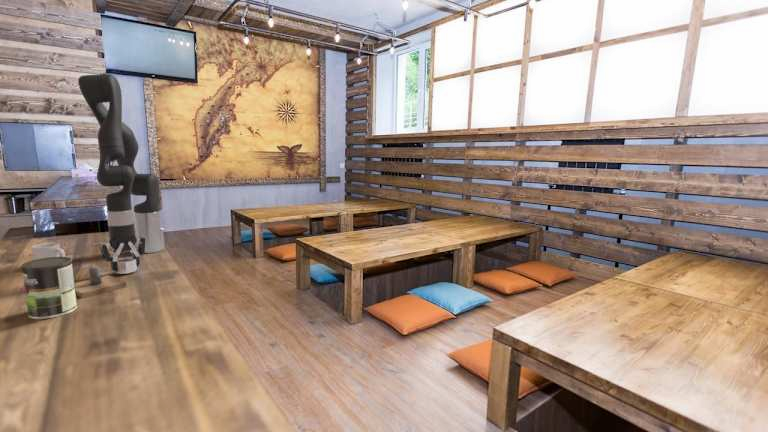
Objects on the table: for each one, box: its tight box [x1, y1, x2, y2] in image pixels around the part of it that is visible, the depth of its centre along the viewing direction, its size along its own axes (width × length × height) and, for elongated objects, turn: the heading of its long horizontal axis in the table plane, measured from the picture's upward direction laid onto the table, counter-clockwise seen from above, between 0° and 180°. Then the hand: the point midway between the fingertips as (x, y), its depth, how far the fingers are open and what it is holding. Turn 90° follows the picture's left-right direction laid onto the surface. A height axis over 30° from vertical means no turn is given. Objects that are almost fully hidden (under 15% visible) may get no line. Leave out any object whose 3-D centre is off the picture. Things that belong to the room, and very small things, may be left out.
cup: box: [31, 242, 66, 260], centre depth 143 cm, size 11×8×8 cm
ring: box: [114, 257, 138, 275], centre depth 137 cm, size 6×6×4 cm
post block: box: [74, 266, 127, 299], centre depth 122 cm, size 12×12×6 cm
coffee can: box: [20, 256, 78, 320], centre depth 104 cm, size 10×10×14 cm
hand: (126, 268), depth 137 cm, fingers closed on ring, 6 cm apart
